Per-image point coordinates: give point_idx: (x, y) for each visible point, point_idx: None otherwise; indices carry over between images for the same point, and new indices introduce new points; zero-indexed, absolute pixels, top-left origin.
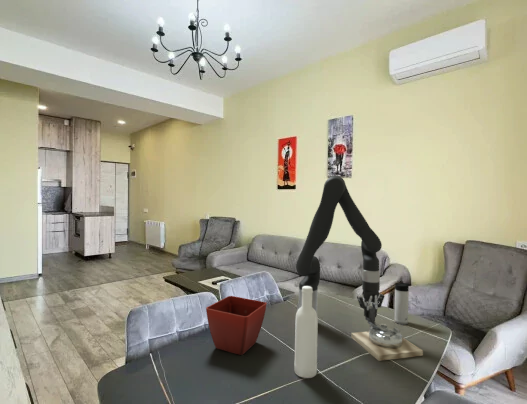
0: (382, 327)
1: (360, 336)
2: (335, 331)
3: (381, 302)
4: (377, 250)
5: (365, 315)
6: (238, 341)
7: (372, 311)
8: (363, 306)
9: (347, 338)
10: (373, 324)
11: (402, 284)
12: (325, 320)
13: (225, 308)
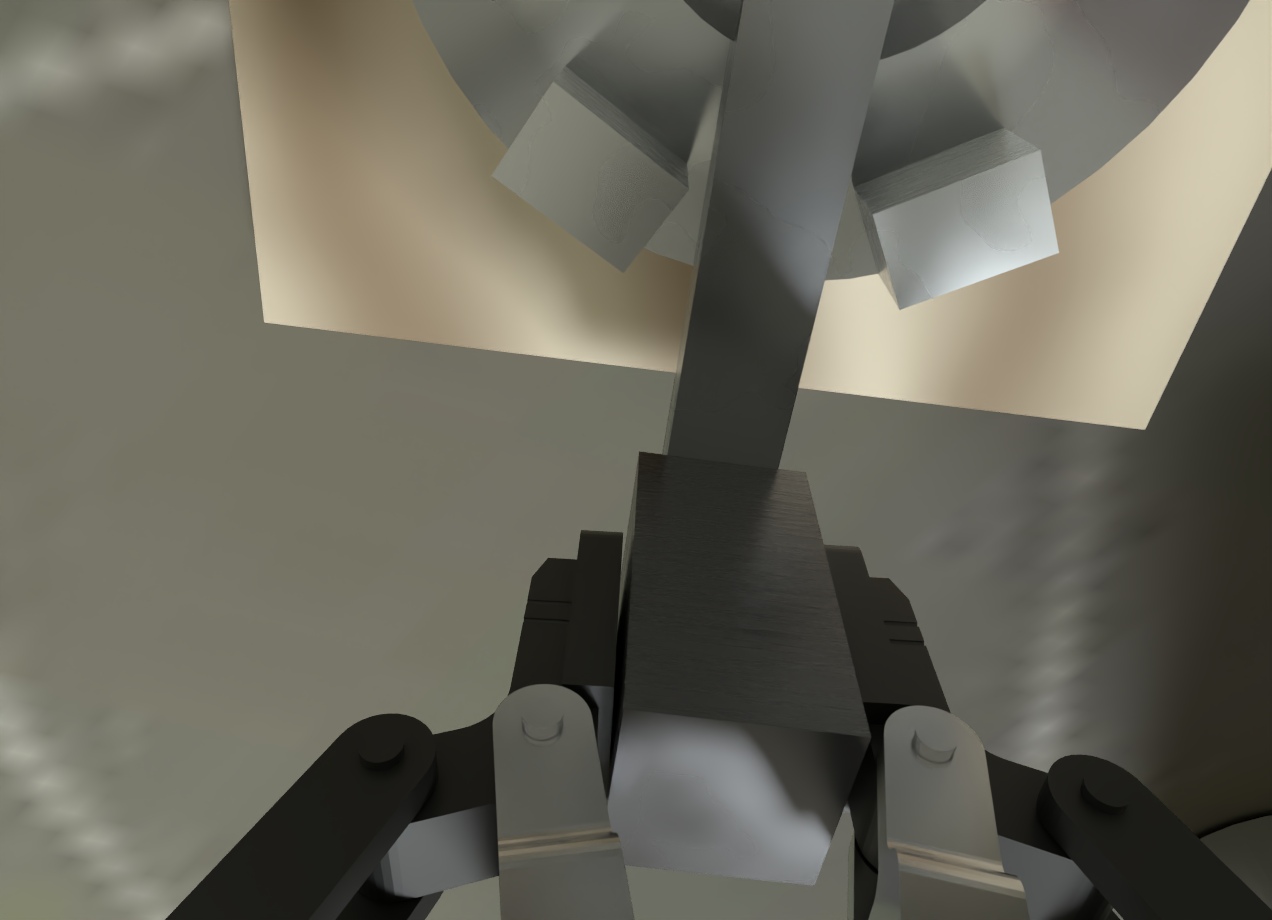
0: (744, 67)
1: (1126, 250)
2: (1146, 623)
3: (252, 886)
4: None
5: (906, 619)
6: None
7: (735, 645)
8: (1180, 853)
9: (1201, 382)
10: (806, 336)
11: None
12: None
13: None
